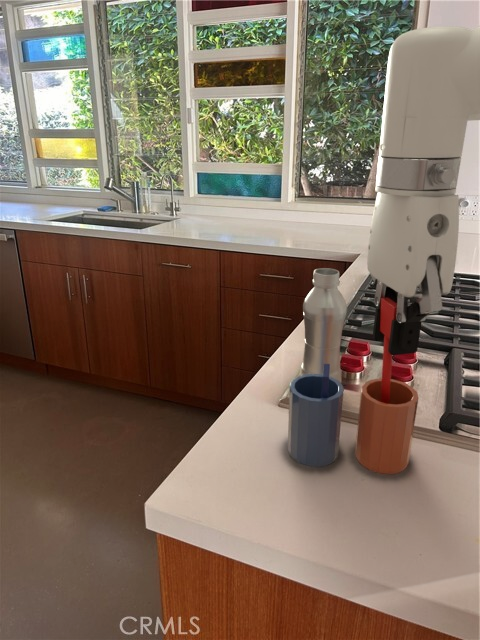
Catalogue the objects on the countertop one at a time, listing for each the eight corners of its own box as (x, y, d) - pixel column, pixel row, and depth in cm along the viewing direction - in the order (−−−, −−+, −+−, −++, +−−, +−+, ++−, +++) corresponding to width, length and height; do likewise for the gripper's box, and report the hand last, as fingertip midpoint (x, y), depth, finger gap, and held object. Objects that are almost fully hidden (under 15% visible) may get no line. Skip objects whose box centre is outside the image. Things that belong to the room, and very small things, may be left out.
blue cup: (327, 435, 63) (331, 371, 60) (345, 466, 58) (351, 397, 54) (282, 441, 62) (283, 376, 58) (296, 473, 56) (299, 403, 53)
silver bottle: (320, 378, 78) (326, 262, 70) (349, 395, 73) (360, 273, 65) (290, 389, 75) (293, 269, 67) (318, 408, 69) (325, 281, 62)
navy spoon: (325, 440, 61) (330, 363, 54) (324, 454, 59) (330, 377, 52) (318, 439, 61) (323, 363, 54) (317, 453, 59) (321, 376, 52)
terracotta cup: (391, 441, 62) (400, 376, 58) (417, 473, 56) (429, 403, 52) (346, 447, 61) (352, 381, 57) (368, 481, 55) (376, 410, 51)
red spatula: (381, 415, 58) (388, 296, 52) (393, 429, 55) (402, 306, 49) (374, 416, 58) (380, 298, 51) (385, 430, 55) (393, 307, 49)
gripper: (509, 184, 39) (469, 377, 46) (408, 169, 53) (389, 316, 60) (427, 187, 37) (399, 385, 44) (346, 170, 52) (335, 321, 59)
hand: (394, 344), depth 52 cm, fingers closed on red spatula, 3 cm apart
